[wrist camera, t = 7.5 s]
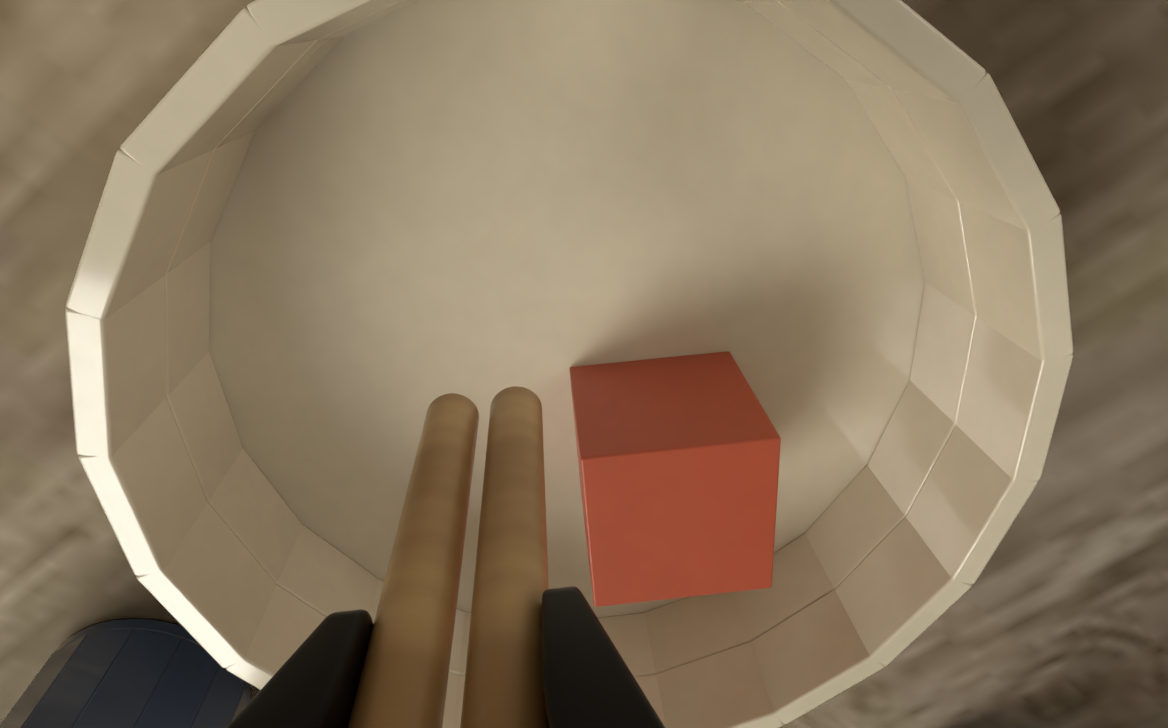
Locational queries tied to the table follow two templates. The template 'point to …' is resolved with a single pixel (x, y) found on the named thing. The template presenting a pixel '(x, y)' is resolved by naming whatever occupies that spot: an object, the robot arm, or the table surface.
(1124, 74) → the table surface
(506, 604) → the chopsticks
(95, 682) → the holder
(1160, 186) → the table surface
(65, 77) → the table surface
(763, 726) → the bowl
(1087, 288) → the table surface
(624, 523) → the block
